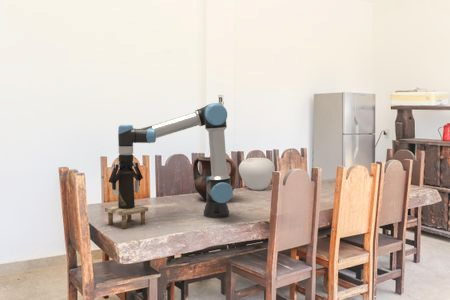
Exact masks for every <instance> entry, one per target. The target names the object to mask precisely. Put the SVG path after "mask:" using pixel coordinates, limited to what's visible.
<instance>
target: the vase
mask: <svg viewBox="0 0 450 300" xmlns="http://www.w3.org/2000/svg"><path fill="white" fill-rule="evenodd" d="M275 170H276V167H275V164H274V163H273V161H272V160H270V159H269V158H266V157H248V158H244V159H243V160H242V161H241V162H240V164H239V165H238V173H239V175H240V178H241V180H242V182H243V183H244V185H245V186H246V187H247V188H249V189H251V190H252V191H263V190H265V189H266V188H267V187H268V186H269V185H270V183H271V181H272V179H273V177H272V172H274V171H275ZM275 172H276V171H275ZM275 172H274V173H275Z"/></svg>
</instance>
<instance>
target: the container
mask: <svg viewBox="0 0 450 300" xmlns="http://www.w3.org/2000/svg"><path fill="white" fill-rule="evenodd" d="M134 171H135V170H134ZM134 171H131V170H130V171H124V172H121V176H120V178H119V179H118V181H117V182H118V183H117V184H118V196H117V197H118V198H117V199H118V202H117V203H118V205H117V206H118V207H119V208H121V209H131V208H134V207H135V205H136V204H135V178H134V174H135V173H136V171H135V172H134ZM117 173H118V171H117Z"/></svg>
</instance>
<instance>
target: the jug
mask: <svg viewBox="0 0 450 300" xmlns="http://www.w3.org/2000/svg"><path fill="white" fill-rule="evenodd" d="M199 162H200V163H201V173H200V171H199V165H198V163H199ZM226 164H227V165H229V166H230V173H229V174H228V175H229V176H230V181H231V187H232V190H233V191H234V190H235V187H236V180H237V179H236V178H237V177H236V175H237V166H236V163H235V161H234V160H233V159H232V158H231V157H226ZM192 174H193V182H194V183H193V186H194V189H195V190H196V192H197V193H198V194H199V196H200V197H202V199H203V201H204V202H205V203H206V202H207V183H206V181H207V177H209V176H211V175H212V173H211V159H210V156H209V157H208V156H198V157H196V158H195V159H194V161H193V164H192Z"/></svg>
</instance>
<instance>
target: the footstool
mask: <svg viewBox="0 0 450 300" xmlns="http://www.w3.org/2000/svg"><path fill="white" fill-rule="evenodd" d="M104 212H106V213H107V215H108V216H107V220H108V221H107V223H108V226H112V225H113V224H114V215H117V216H121V229H123V230H126V229H128V228H127V227H128V226H127V224H128V223H127V222H131V221H132V215H136V214H140V225H141V224H142V225H143V224H144V225H146V213H147V212H149V207H147V206H143V205H139V204H135V207H134V208H131V209H121V208H119V207H118V205H112V206H107V207H105V208H104Z"/></svg>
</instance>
